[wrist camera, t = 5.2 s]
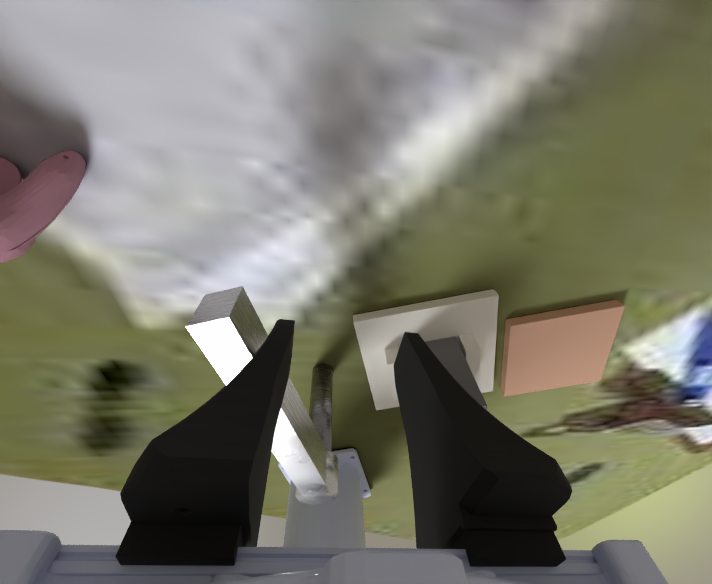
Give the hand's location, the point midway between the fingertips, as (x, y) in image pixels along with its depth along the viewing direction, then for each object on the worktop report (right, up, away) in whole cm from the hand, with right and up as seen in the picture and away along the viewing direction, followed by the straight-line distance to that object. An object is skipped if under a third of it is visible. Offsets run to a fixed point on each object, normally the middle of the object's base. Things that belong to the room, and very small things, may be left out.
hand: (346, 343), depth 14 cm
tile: (+16, -2, +12) cm, 20 cm away
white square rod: (-3, -3, +3) cm, 6 cm away
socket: (+4, -3, +12) cm, 13 cm away
